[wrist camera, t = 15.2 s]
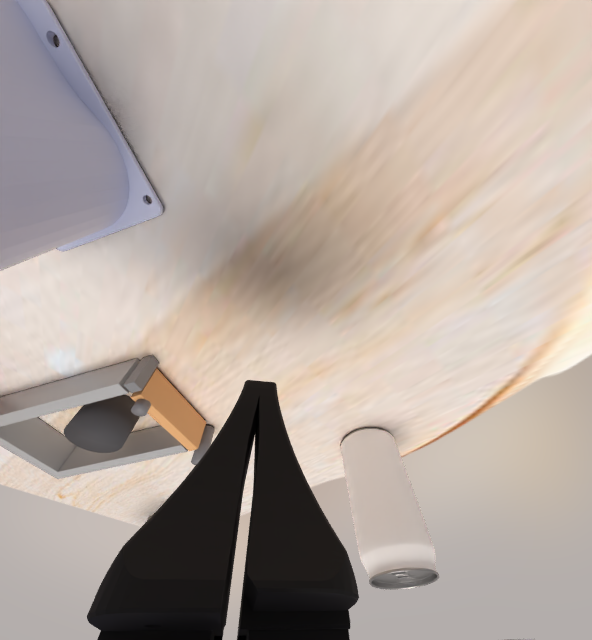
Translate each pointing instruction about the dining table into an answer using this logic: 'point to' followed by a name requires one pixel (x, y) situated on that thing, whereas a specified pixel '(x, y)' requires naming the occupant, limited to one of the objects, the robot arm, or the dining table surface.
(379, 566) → the can
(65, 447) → the grey frame
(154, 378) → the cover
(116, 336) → the dining table surface
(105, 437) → the dark grey cylinder
